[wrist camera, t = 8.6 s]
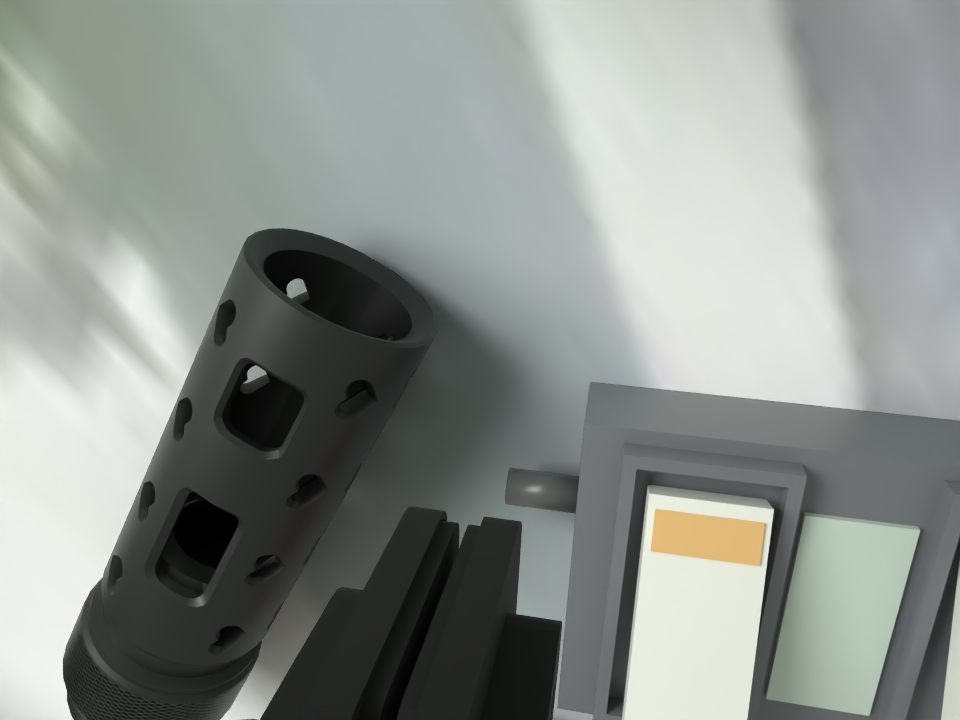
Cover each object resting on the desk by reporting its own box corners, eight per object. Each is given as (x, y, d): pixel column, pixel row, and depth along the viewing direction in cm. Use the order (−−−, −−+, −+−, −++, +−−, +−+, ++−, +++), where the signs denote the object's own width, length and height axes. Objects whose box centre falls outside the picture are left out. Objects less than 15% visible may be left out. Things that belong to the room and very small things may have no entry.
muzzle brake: (467, 304, 39) (411, 378, 29) (259, 664, 49) (169, 804, 40) (302, 206, 39) (192, 248, 29) (130, 588, 49) (8, 710, 40)
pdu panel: (520, 374, 39) (501, 425, 34) (1128, 438, 35) (1225, 509, 29) (504, 632, 45) (485, 713, 39) (1027, 716, 40) (1091, 821, 35)
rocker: (647, 484, 34) (649, 494, 32) (766, 499, 33) (774, 510, 32) (619, 742, 35) (619, 765, 34) (733, 763, 34) (739, 787, 33)
